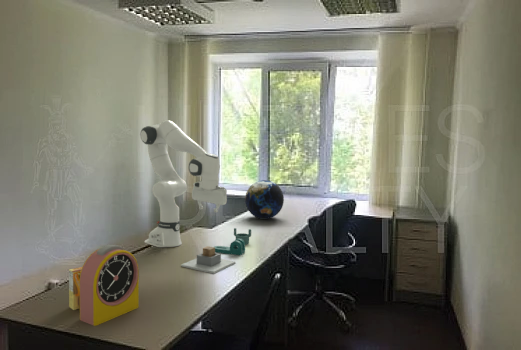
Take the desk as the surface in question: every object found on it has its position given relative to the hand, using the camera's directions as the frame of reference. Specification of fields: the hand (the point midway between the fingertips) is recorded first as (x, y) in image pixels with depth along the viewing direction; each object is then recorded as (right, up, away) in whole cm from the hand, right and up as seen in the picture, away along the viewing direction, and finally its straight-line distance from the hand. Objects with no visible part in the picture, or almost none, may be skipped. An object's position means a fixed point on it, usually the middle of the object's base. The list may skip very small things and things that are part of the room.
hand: (208, 210), depth 243 cm
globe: (+30, -15, +115) cm, 120 cm away
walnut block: (+1, -27, -5) cm, 27 cm away
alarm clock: (-30, -34, -68) cm, 81 cm away
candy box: (-43, -33, -62) cm, 82 cm away
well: (+1, -28, -5) cm, 28 cm away
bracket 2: (+16, -23, +41) cm, 50 cm away
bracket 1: (+9, -26, +20) cm, 34 cm away
